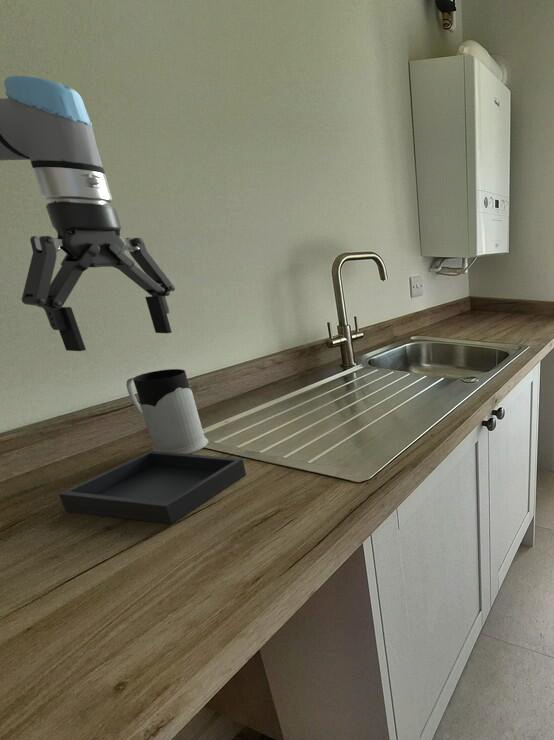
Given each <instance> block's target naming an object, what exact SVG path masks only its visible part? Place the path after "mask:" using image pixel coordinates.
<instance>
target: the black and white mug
mask: <svg viewBox="0 0 554 740" xmlns="http://www.w3.org/2000/svg"><path fill="white" fill-rule="evenodd" d="M132 382H133V384H134V387H135V390H136V393H137V396H138V400H139V401H138V400H137V397H136V395H135V392H134V389H133V387H132ZM126 390H127V392H128V393H127V394H128V395H129V398H130V400H131V402H132V403H133V406H134V408H136V410H137V412H138V413H139V414H140V415H141V416H142V417H143V419H144V422H145V426H146V428H147V431H148V435H149V439H150V441H151V444H152V447H153V448H152V449H153V450H152V451H159V452H170V453H182V454H193V453H196V452H198V451H200V450H202V449H203V448H205V447H206V446H207V445H208V444H209V440H208V438H207V437H206V436H205V435H204V431H203V430H204V429H203V427H202V422H201V419H200V416H199V412H198V409H197V408H198V407H197V405H196V401H195V398H194V393H193V391H192V389H191V386H190V384H189V380H188V377H187V373H186V370H185V369H182V368H181V369H180V368H171V369H160V370H155V371H154V370H153V371H149V372H146V373H145V372H144V373H141V374H139V375H136V376H134V377H130V378H128V379H127V380H126ZM207 443H208V444H207Z"/></svg>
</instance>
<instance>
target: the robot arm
mask: <svg viewBox="0 0 554 740" xmlns="http://www.w3.org/2000/svg"><path fill="white" fill-rule="evenodd" d="M3 84H4V89H5V92H4V94H5V95H6V98H5V97H3V98H0V161H29V160H30V164H31V167H32V170H33V173H34V176H35V179H36V182H37V185H38V188H39V192H40V195H41V198H43V199H45V200H46V201H47V200H48V201H49V202H48V203H46V205H45V209H46V211H47V215H48V217H49V220H50V223H51V225H52V228H53V229H54V230H55V231H56V233H57V237H56V238H55V237H52V236H49V235H32V236H31V237H30V239H29V241H30V245H31V249H32V255H31V259H30V263H29V268H28V272H27V275H26V280H25V284H24V288H23V292H22V297H21V302H22V303H23V304H24V305H28V306H35V307H38V308H41V309H43V311H44V313H45V315H46V317H47V320H48V322H49V325H50V327H51V329H52V330H53V331H58V332H59V335H60V337H61V340H62V343H63V345H64V348H65V351H69V352H84V351H87V348H86V346H85V343H84V339H83V337H82V333H81V331H80V328H79V326H78V322H77V320H76V317H75V314H74V311H73V308H72V307H71V306H64V305H65V303H66V301H67V300H68V298H69V296H70V295H71V293H72V291H73V290H74V289H75V287H76V285H77V283H78V281H79V279H81V277H82V275H83V273H84V272H85V271H86V270H88V269H89V268H102V267H103V268H109V267H111V268H115V269H116V270H119V271H120V272H121V273H123V275H125V276H126V277H128V278H129V280H131V281H133V283H135V284H136V285H137V286H138V287H140V288H141V289H142V290H144V292H146V293H147V294H148V295H149V296H145V301H146V305H147V308H148V311H149V315H150V318H151V322H152V326H153V328H154V329H153V330H154V332H155V334H171V333H172V328H171V324H170V321H169V318H168V314H170V308H169V305H168V302H167V301H168V300H167V298H166V297H170V295H171V292H174V291H175V290H176V288H175V285H174V284H173V282H172V281H171V280H170V278H169V277H168V276H167V274H166V273H165V272H164V271H163V269H162V268H161V267H160V266H159V264H158V263H157V262H156V260H155V259H154V258H153V256H152V255H151V254H150V252H149V251H148V248H147V246H146V244H145V241H144V239H143V238H142V237H126V238H124V239H123V237H122V235H121V229H122V227H121V223H120V219H119V216H118V213H117V210H116V208H115V207H114V206H113V205H110V204H109V203H112V202H113V201H114V199H113V196H112V192H111V189H110V186H109V182H108V179H107V176H106V173H105V170H104V167H103V163H102V160H101V157H100V152H99V148H98V145H97V141H96V136H95V133H94V129H93V122H92V121H91V119H90V116H89V114H88V110H87V108H86V106H85V103H84V100H83V98H82V97H81V95H80V93H78V91H76V90H75V89H74V88H72V87H70V86H68V85H66V84H63V83H60V82H56V81H54V80H50V79H46V78H41V77H36V76H28V75H10V76H8V77H6V78H5V79H4V80H3ZM61 250H62V251H63V252H64V253H65V256H64V257H63V259H62V261H61V262H60V268H59V269H58V272H57V273H56V275H55V276H54V278H53V275H54V270H55V267H56V262H57V257H58V253H59V252H60V251H61ZM125 251H127V252H129V255H130V256H131V257H132V258H133V259H132V258H130V257H129V255H127V254H126V253H125ZM135 262H136V264H137V265H138V266H139V267H138V266H137V265H136V264H135Z"/></svg>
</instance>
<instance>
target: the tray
mask: <svg viewBox="0 0 554 740" xmlns="http://www.w3.org/2000/svg"><path fill="white" fill-rule="evenodd" d="M246 475H247V471H246V468H245V464H244V460H243V458H237V457H224V456H215V455H204V454H193V453H190V454H182V453H170V452H159V451H153V450H149V451H147V452H145V453H142V454H141V455H139V456H137V457H134V458H132V459H130V460H128V461H126V462H123V463H122V464H120V465H117V466H115V467H113V468H110V469H109V470H107V471H104V472H102V473H100V474H98V475H96V476H93V477H92V478H90V479H87V480H85V481H83V482H81V483H79V484H76V485H74V486H73V487H70V488H68V489H66V490H64V491H62V492H60V493H58V496H59V498H60V501H61V503H62V506H63V509H64V510H65V513H74V514H81V515H89V516H99V517H107V518H115V519H123V520H132V521H139V522H146V523H156V524H163V525H173V524H175V523H176V522H178V521H179V520H181V519H182V518H184V517H185V516H187V515H188V514H190V513H192V512H193V511H194V510H196V509H197V508H199V507H201V506H202V505H203V504H205V503H206V502H208V501H209V500H211V499H212V498H214V497H215V496H217V495H219V494H220V493H221V492H223V491H224V490H226V489H227V488H229V487H230V486H231V485H233V484H235V483H236V482H237V481H239V480H240V479H242V478H244V477H245V476H246Z"/></svg>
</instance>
